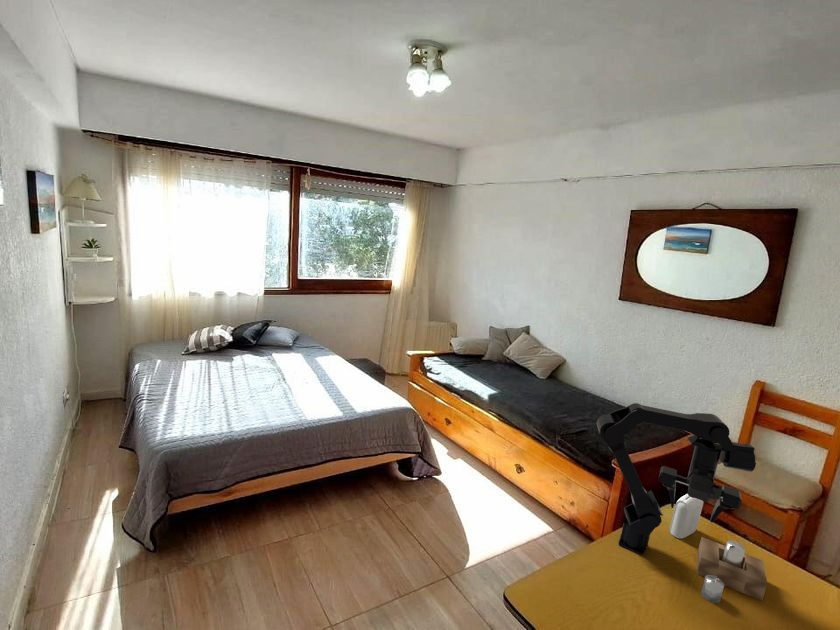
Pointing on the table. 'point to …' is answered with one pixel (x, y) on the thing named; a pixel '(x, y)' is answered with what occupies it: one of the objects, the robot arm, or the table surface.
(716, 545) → the hole board
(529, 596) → the table surface
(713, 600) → the short pin
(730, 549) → the silver upright cylinder
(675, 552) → the table surface
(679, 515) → the white rounded printed block
